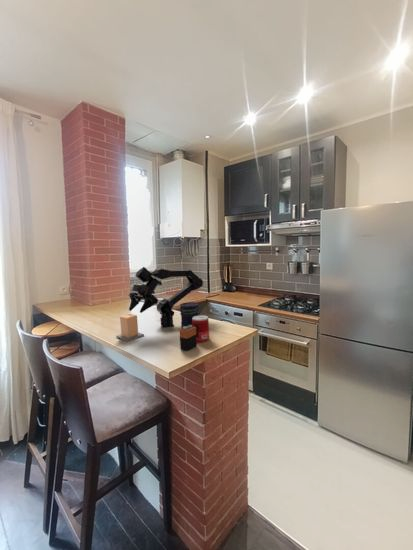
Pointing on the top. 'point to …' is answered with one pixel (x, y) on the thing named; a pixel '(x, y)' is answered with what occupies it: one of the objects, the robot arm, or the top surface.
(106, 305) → the top surface
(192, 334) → the battery
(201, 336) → the canned food
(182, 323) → the storage jar
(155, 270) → the robot arm
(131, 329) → the wooden block
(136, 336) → the peg stand
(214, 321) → the top surface
